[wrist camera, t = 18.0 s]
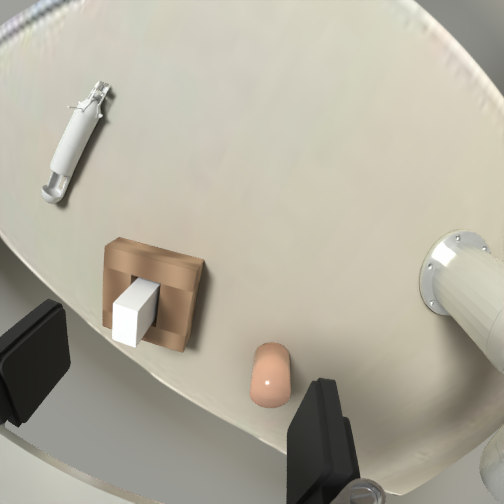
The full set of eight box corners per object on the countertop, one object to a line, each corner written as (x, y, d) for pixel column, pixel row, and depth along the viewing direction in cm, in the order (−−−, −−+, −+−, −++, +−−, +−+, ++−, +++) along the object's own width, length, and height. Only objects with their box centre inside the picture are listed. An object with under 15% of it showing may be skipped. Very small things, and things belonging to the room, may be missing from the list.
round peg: (293, 346, 42) (296, 384, 35) (283, 372, 44) (283, 410, 36) (259, 339, 42) (255, 376, 35) (250, 365, 44) (245, 403, 36)
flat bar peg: (167, 275, 40) (137, 311, 31) (162, 307, 42) (135, 347, 32) (146, 269, 40) (112, 302, 31) (143, 301, 42) (112, 339, 32)
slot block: (204, 259, 39) (196, 271, 35) (190, 336, 43) (182, 352, 39) (119, 237, 39) (104, 246, 35) (114, 312, 43) (102, 326, 39)
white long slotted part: (67, 207, 39) (39, 218, 32) (47, 191, 38) (18, 199, 32) (123, 91, 33) (97, 83, 27) (99, 78, 33) (71, 69, 26)
